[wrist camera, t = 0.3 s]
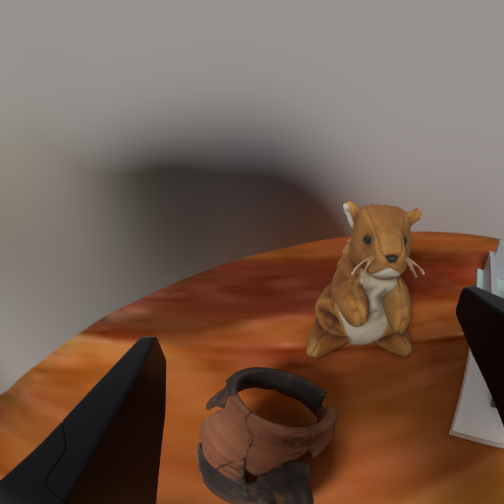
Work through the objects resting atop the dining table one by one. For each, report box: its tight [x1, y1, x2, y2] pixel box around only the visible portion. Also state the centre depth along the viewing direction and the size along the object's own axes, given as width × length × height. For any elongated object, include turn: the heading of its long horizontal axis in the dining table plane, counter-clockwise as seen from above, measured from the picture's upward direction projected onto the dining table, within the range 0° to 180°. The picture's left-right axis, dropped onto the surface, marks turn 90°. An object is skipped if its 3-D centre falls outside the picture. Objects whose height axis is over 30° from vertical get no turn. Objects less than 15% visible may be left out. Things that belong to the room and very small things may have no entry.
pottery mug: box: [196, 367, 337, 504], centre depth 17 cm, size 12×10×8 cm
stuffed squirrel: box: [306, 201, 424, 358], centre depth 26 cm, size 10×14×13 cm
